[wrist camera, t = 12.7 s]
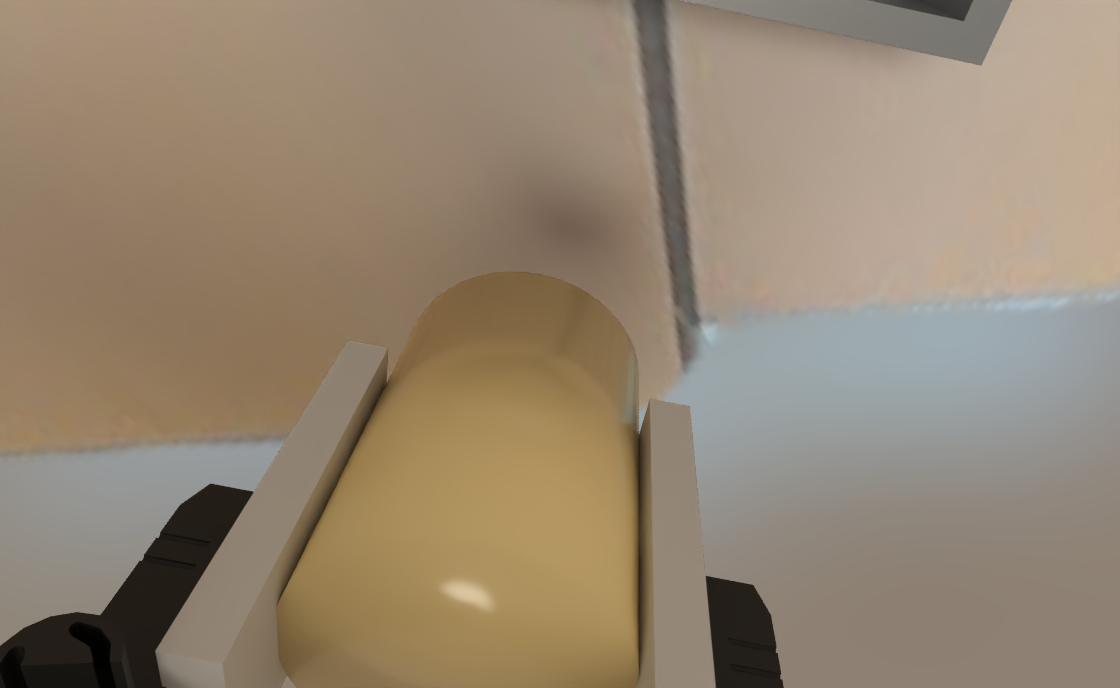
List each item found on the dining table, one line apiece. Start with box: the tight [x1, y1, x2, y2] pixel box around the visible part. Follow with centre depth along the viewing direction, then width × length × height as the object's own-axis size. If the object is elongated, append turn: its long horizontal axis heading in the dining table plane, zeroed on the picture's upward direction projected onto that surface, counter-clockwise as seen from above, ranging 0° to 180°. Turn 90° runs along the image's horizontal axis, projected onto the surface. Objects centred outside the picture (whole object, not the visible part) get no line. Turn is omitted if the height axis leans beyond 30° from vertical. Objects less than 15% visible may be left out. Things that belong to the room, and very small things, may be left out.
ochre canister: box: [276, 272, 639, 688], centre depth 13 cm, size 5×5×7 cm
